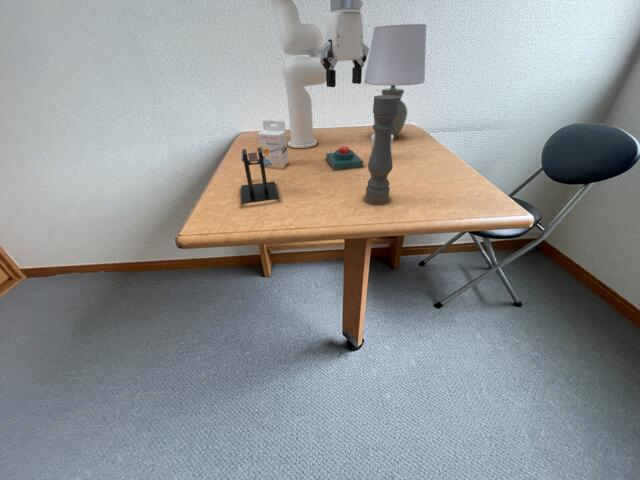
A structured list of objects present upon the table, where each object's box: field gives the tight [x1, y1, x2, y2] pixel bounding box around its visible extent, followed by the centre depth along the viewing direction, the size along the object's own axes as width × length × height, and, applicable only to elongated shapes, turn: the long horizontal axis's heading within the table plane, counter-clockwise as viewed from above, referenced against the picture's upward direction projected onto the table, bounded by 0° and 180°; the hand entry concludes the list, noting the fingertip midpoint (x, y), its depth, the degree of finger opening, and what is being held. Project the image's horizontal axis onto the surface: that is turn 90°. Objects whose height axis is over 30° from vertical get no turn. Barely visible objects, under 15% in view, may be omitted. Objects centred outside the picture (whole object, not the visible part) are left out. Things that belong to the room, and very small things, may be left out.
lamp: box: [363, 23, 427, 140], centre depth 113 cm, size 24×24×40 cm
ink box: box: [257, 120, 289, 167], centre depth 95 cm, size 8×5×15 cm, turn 72°
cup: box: [370, 133, 394, 154], centre depth 99 cm, size 11×8×8 cm
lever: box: [247, 151, 260, 166], centre depth 77 cm, size 12×5×2 cm, turn 13°
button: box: [338, 146, 350, 154], centre depth 96 cm, size 4×4×2 cm
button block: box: [325, 149, 364, 171], centre depth 98 cm, size 12×10×4 cm
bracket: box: [240, 147, 280, 205], centre depth 76 cm, size 12×10×13 cm
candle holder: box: [365, 94, 400, 206], centre depth 68 cm, size 6×6×25 cm
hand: (344, 85), depth 78 cm, fingers open, 9 cm apart
